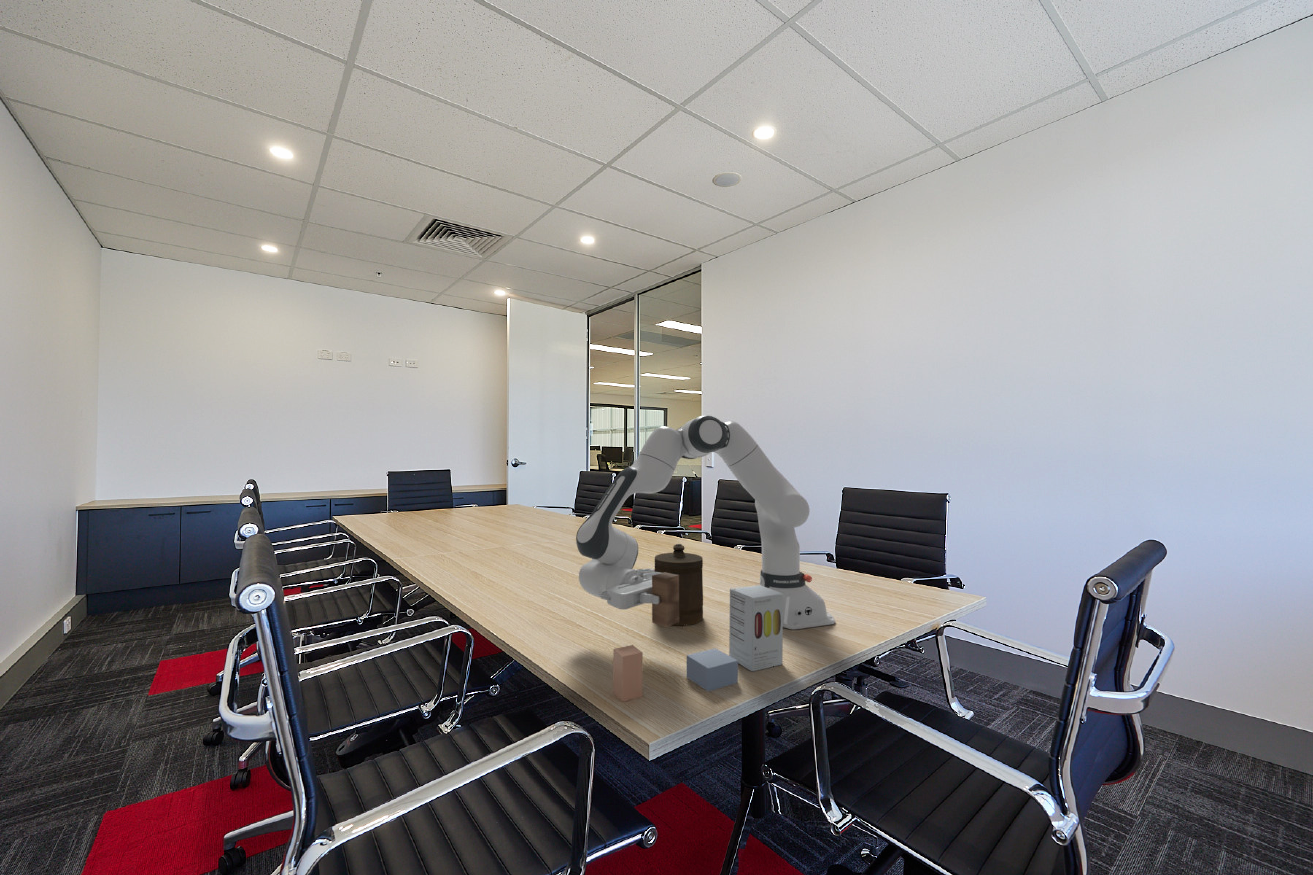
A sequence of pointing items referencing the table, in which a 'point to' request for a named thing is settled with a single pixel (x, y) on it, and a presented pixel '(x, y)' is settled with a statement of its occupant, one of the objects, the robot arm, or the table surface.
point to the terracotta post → (627, 672)
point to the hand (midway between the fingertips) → (668, 597)
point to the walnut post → (666, 599)
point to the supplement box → (756, 627)
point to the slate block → (712, 669)
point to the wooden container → (685, 582)
